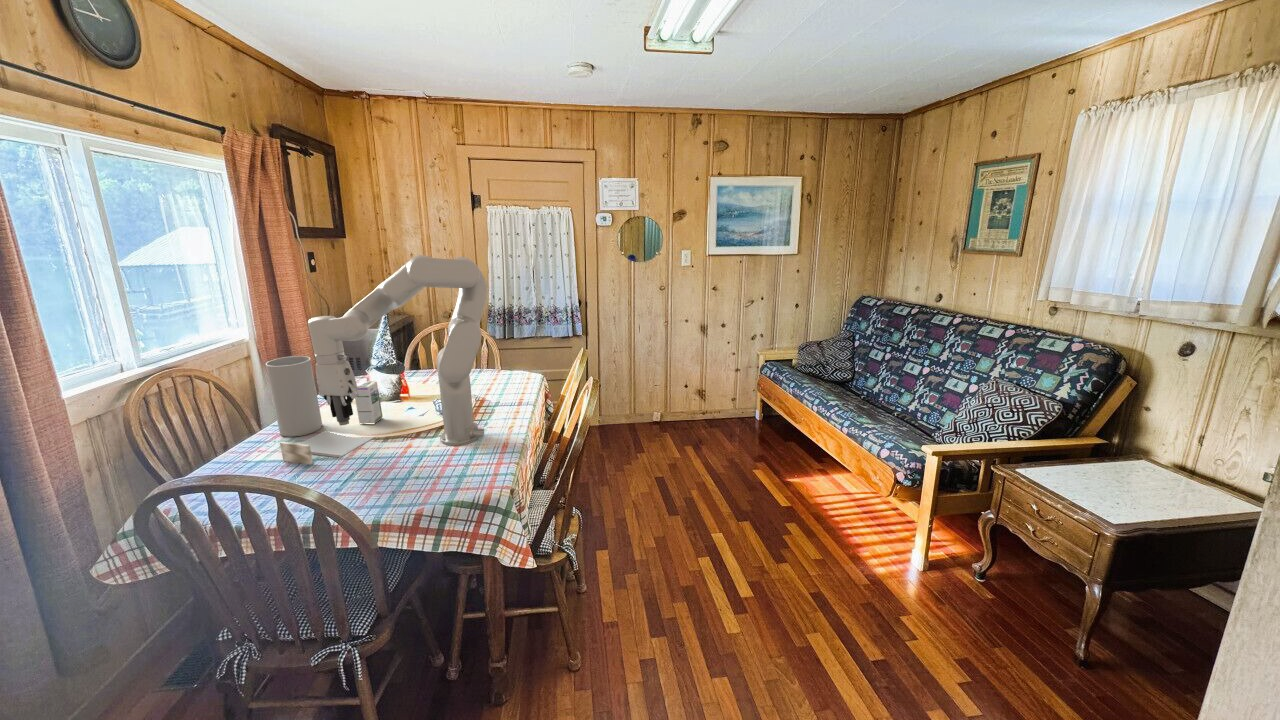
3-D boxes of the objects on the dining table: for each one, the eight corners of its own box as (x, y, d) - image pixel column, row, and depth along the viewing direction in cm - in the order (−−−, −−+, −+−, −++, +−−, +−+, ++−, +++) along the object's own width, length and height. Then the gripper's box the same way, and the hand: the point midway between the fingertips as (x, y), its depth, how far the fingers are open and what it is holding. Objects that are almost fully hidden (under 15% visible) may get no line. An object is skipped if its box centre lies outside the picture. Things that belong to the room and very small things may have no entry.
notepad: (375, 437, 173) (375, 436, 172) (339, 458, 158) (338, 457, 158) (325, 431, 177) (325, 430, 177) (285, 451, 162) (285, 450, 162)
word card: (313, 463, 154) (309, 444, 153) (310, 464, 154) (307, 446, 152) (286, 459, 157) (282, 441, 155) (283, 460, 156) (279, 442, 154)
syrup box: (375, 424, 182) (369, 386, 178) (358, 424, 183) (352, 386, 179) (383, 418, 188) (377, 381, 184) (367, 418, 188) (361, 381, 184)
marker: (353, 421, 158) (346, 385, 154) (345, 426, 155) (337, 389, 151) (343, 421, 159) (336, 385, 155) (335, 425, 155) (327, 389, 152)
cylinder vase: (288, 440, 169) (273, 368, 163) (274, 431, 177) (259, 361, 170) (329, 428, 179) (316, 360, 172) (313, 420, 186) (301, 354, 179)
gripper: (363, 355, 152) (374, 412, 158) (317, 353, 156) (330, 409, 161) (344, 363, 145) (356, 422, 151) (296, 360, 149) (310, 419, 154)
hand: (342, 415), depth 156 cm, fingers closed on marker, 3 cm apart
